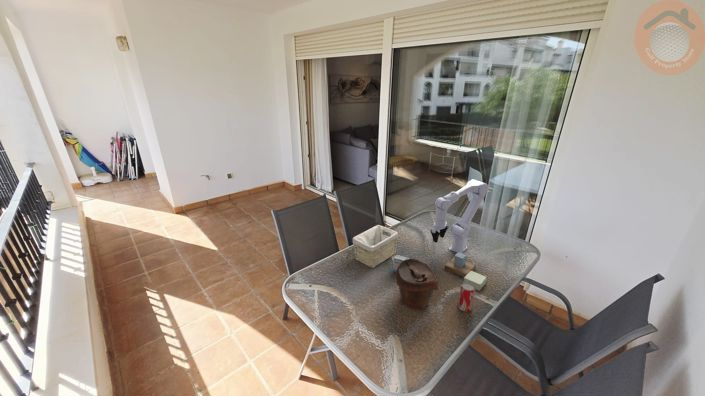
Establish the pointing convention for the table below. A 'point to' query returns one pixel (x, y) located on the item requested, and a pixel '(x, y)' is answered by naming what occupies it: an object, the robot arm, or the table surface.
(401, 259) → the medicine box
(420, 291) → the brown lidded pot
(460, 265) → the slate block
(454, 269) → the walnut block
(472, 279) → the sage block
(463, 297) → the beverage can
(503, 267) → the table surface
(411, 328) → the table surface
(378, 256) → the storage basket
